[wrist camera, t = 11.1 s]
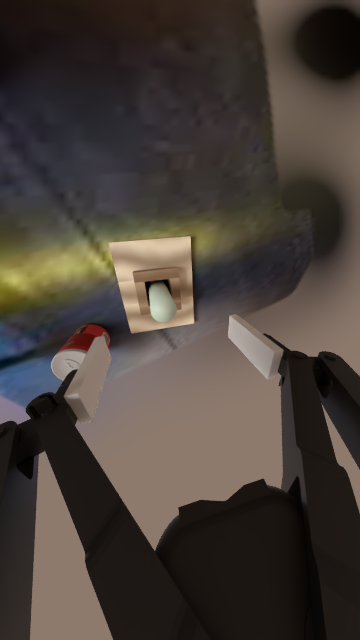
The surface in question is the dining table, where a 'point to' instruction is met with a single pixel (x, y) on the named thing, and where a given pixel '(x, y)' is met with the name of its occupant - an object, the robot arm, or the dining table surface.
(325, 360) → the robot arm
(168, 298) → the peg
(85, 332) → the canned food
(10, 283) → the dining table surface
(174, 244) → the socket board
